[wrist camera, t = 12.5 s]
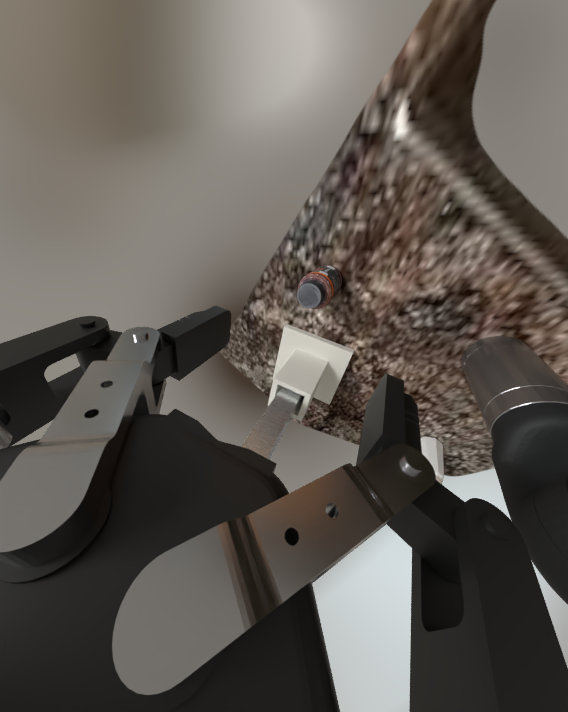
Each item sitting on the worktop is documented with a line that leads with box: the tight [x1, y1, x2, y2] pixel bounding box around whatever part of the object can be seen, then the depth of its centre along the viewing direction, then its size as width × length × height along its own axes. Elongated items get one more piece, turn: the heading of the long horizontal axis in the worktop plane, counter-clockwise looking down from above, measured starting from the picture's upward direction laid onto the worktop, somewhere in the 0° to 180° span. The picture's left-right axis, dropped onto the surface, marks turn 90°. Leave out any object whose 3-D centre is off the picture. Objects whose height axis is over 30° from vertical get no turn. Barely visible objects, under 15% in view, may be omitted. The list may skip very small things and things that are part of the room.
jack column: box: [241, 386, 303, 459], centre depth 40 cm, size 4×4×22 cm
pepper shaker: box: [421, 437, 444, 484], centre depth 49 cm, size 5×5×11 cm
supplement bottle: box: [297, 265, 342, 309], centre depth 40 cm, size 6×6×11 cm
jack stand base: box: [268, 324, 354, 421], centre depth 50 cm, size 16×16×15 cm
